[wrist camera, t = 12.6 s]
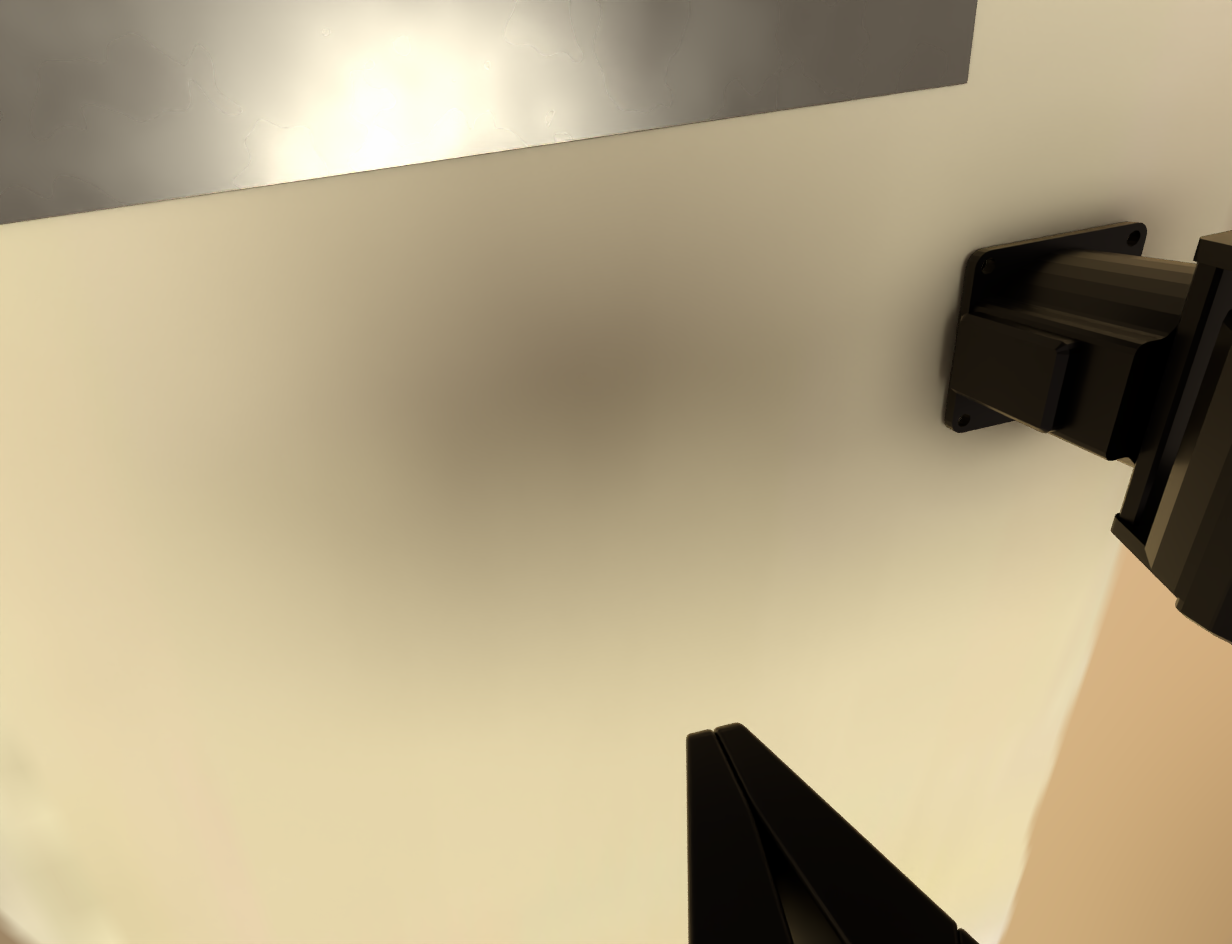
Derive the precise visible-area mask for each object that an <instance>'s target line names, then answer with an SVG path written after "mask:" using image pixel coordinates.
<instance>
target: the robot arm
mask: <svg viewBox="0 0 1232 944" xmlns="http://www.w3.org/2000/svg"><path fill="white" fill-rule="evenodd" d="M1146 235H1147V228H1146V225H1144V224H1143V223H1137V222H1122V223H1117V224H1111V225H1106V226H1101V227H1095V228H1090V229H1085V230H1079V231H1074V232H1068V233H1063V234H1058V235H1052V236H1047V237H1042V238H1036V239H1031V240H1026V241H1020V242H1015V243H1010V244H1004V245H999V246H993V247H988V248H983V249H980V250H977V251H976V252H975V253H974V254H972V255H971V257H970V259H969V260H968V263H967V266H966V271H965V279H964V286H963V293H962V300H961V307H960V314H959V321H958V328H957V335H956V342H955V349H954V356H953V363H952V370H951V377H950V384H949V391H948V398H947V405H946V412H945V425H946V426H947V427H948V428H950V429H952V430H953V431H955V432H957V433H963V432H967V431H971V430H976V429H980V428H984V427H989V426H993V425H997V424H1002V423H1006V422H1011V421H1015V420H1016V421H1018V422H1020V423H1022V424H1024V425H1026V426H1029V427H1031V428H1033V429H1035V430H1037V431H1039V432H1042V433H1049V434H1051V435H1054V436H1056V437H1058V438H1060V439H1062V440H1064V441H1067V442H1069V443H1071V444H1073V445H1075V446H1078V447H1080V448H1082V449H1084V450H1086V451H1088V452H1091V453H1093V454H1095V455H1097V456H1099V457H1101V458H1104V459H1106V460H1108V461H1113V460H1118V461H1120V462H1122V463H1124V464H1126V465H1129V466H1131V467H1133V468H1134V469H1133V472H1132V475H1131V478H1130V482H1129V485H1128V488H1127V491H1126V495H1125V498H1124V501H1123V504H1122V508H1121V511H1120V513H1118V514H1116V515H1115V518H1114V521H1113V524H1112V527H1111V532H1112V533H1113V534H1114V535H1115V536H1116V537H1117V538H1118V539H1119V540H1120V541H1121V542H1122V543H1123V544H1124V545H1125V546H1126V547H1127V548H1128V549H1129V550H1130V551H1131V552H1132V553H1133V554H1134V555H1135V556H1136V557H1137V558H1138V559H1139V560H1140V561H1141V562H1142V563H1143V564H1144V565H1145V566H1146V567H1147V568H1148V569H1149V570H1150V571H1151V572H1152V573H1153V574H1154V575H1155V576H1156V577H1157V578H1158V579H1159V580H1160V581H1161V582H1162V583H1163V584H1164V585H1165V586H1166V587H1167V588H1168V589H1169V590H1170V591H1171V592H1172V593H1173V594H1174V595H1175V596H1176V597H1177V600H1176V603H1175V606H1176V608H1177V609H1178V610H1179V611H1180V612H1181V613H1182V614H1183V615H1184V616H1185V617H1186V618H1188V619H1189V620H1191V621H1193V622H1194V623H1196V624H1197V625H1199V626H1200V627H1202V628H1203V629H1205V630H1206V631H1208V632H1210V633H1211V634H1213V635H1214V636H1216V637H1218V638H1220V639H1222V640H1224V641H1227V642H1228V643H1230V644H1231V645H1232V230H1231V231H1226V232H1221V233H1216V234H1211V235H1207V236H1202V237H1200V239H1199V242H1198V246H1197V249H1196V252H1195V256H1194V259H1193V261H1196V262H1197V264H1194V263H1187V262H1179V261H1172V260H1164V259H1156V258H1149V257H1141V254H1142V250H1143V247H1144V243H1145V239H1146ZM985 261H986V262H987V263H986V266H985V268H984V269H983V270H982V265H983V263H984V262H985ZM962 415H963V416H962ZM961 416H962V418H961V419H960V420H959V418H960V417H961ZM958 420H959V421H958ZM686 769H687V855H688V940H689V944H979V943H978V942H977V941H976V940H975V939H973V938H972V937H971V936H970V935H969V934H968V933H967V932H966V931H965V930H964V929H962V928H959V929H958V930H957V924H956V922H955V921H954V920H953V919H952V918H951V917H949V916H948V915H947V914H946V913H945V912H944V911H943V910H942V909H941V908H940V907H939V906H938V905H937V904H935V903H934V902H933V901H932V900H931V899H930V898H929V897H928V896H927V895H926V894H925V893H924V892H923V891H921V890H920V889H919V888H918V887H917V886H916V885H915V884H914V883H913V882H912V881H911V880H910V879H909V878H908V877H906V876H905V875H904V874H903V873H902V872H901V871H900V870H899V869H898V868H897V867H896V866H895V865H894V864H892V863H891V862H890V861H889V860H888V859H887V858H886V857H885V856H884V855H883V854H882V853H881V852H880V851H878V850H877V849H876V848H875V847H874V846H873V845H872V844H871V843H870V842H869V841H868V840H867V839H866V838H864V837H863V836H862V835H861V834H860V833H859V832H858V831H857V830H856V829H855V828H854V827H853V826H852V825H850V824H849V823H848V822H847V821H846V820H845V819H844V818H843V817H842V816H841V815H840V814H839V813H838V812H836V811H835V810H834V809H833V808H832V807H831V806H830V805H829V804H828V803H827V802H826V801H825V800H824V799H822V798H821V797H820V796H819V795H818V794H817V793H816V792H815V791H814V790H813V789H812V788H811V787H810V786H808V785H807V784H806V783H805V782H804V781H803V780H802V779H801V778H800V777H799V776H798V775H797V774H796V773H795V772H793V771H792V770H791V769H790V768H789V767H788V766H787V765H786V764H785V763H784V762H783V761H782V760H781V759H779V758H778V757H777V756H776V755H775V754H774V753H773V752H772V751H771V750H770V749H769V748H768V747H767V746H765V745H764V744H763V743H762V742H761V741H760V740H759V739H758V738H757V737H756V736H755V735H754V734H753V733H751V732H750V731H749V730H748V729H747V728H746V727H745V726H744V725H742V724H740V723H732V724H728V725H724V726H719V727H717V728H715V729H714V732H713V731H712V730H709V729H707V730H703V731H699V732H695V733H691V734H688V735H687V737H686Z"/></svg>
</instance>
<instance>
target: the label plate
mask: <svg viewBox="0 0 1232 944" xmlns="http://www.w3.org/2000/svg"><path fill="white" fill-rule="evenodd" d="M976 8H977V0H0V224H6V223H13V222H20V221H27V220H34V219H40V218H47V217H54V216H61V215H68V214H75V213H81V212H88V211H95V210H102V209H109V208H116V207H123V206H129V205H136V204H143V203H150V202H157V201H164V200H170V199H177V198H184V197H191V196H198V195H205V194H211V193H218V192H225V191H232V190H239V189H246V188H252V187H259V186H266V185H273V184H280V183H287V182H293V181H300V180H307V179H314V178H321V177H328V176H335V175H341V174H348V173H355V172H362V171H369V170H376V169H382V168H389V167H396V166H403V165H410V164H417V163H423V162H430V161H437V160H444V159H451V158H458V157H464V156H471V155H478V154H485V153H492V152H499V151H506V150H512V149H519V148H526V147H533V146H540V145H547V144H553V143H560V142H567V141H574V140H581V139H588V138H594V137H601V136H608V135H615V134H622V133H629V132H635V131H642V130H649V129H656V128H663V127H670V126H676V125H683V124H690V123H697V122H704V121H711V120H718V119H724V118H731V117H738V116H745V115H752V114H759V113H765V112H772V111H779V110H786V109H793V108H800V107H806V106H813V105H820V104H827V103H834V102H841V101H847V100H854V99H861V98H868V97H875V96H882V95H889V94H895V93H902V92H909V91H916V90H923V89H930V88H936V87H943V86H950V85H957V84H964V83H967V80H968V72H969V64H970V56H971V48H972V40H973V32H974V24H975V16H976Z"/></svg>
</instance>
